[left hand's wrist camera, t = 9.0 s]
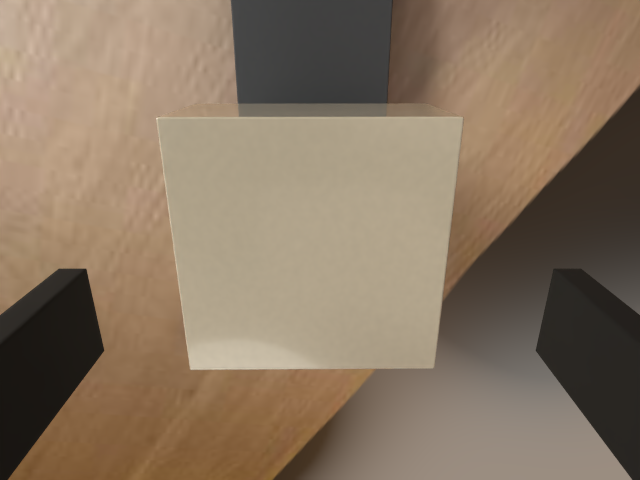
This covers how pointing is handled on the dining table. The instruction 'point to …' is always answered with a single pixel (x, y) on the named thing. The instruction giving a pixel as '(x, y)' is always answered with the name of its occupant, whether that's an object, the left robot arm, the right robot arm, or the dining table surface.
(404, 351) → the beige square block
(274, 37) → the grey base with post
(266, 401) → the dining table surface
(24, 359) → the left robot arm
